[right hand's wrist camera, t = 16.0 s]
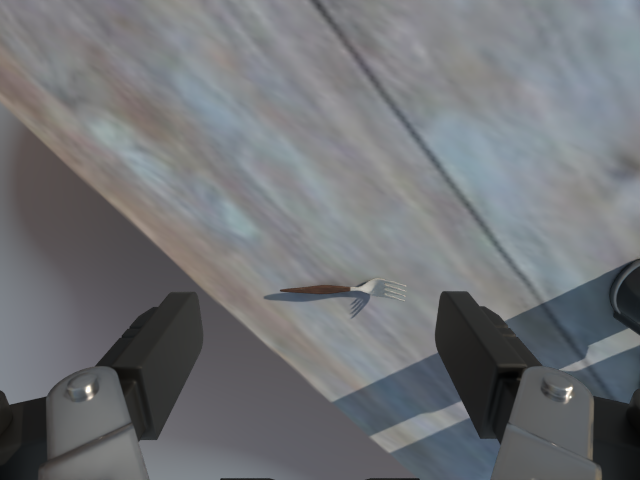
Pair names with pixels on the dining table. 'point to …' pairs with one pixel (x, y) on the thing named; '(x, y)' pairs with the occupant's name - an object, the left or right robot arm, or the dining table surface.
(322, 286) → the fork
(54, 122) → the dining table surface
